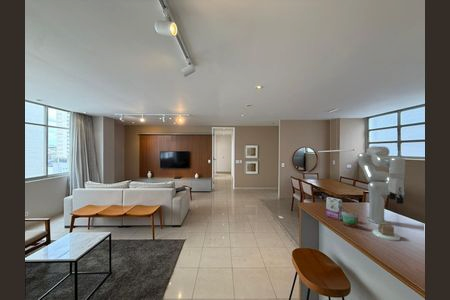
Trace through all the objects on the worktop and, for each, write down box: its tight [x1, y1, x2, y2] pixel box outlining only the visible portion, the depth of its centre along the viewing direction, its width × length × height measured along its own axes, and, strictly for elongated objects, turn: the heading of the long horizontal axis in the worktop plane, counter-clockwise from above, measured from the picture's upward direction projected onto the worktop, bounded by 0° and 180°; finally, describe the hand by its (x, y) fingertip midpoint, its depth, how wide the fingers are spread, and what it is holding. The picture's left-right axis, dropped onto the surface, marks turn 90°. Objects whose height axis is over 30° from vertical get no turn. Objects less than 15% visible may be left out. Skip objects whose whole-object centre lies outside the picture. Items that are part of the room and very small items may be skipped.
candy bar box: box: [325, 196, 343, 221], centre depth 159 cm, size 11×5×16 cm, turn 30°
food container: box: [341, 209, 360, 229], centre depth 143 cm, size 12×6×10 cm, turn 23°
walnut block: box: [377, 223, 395, 236], centre depth 127 cm, size 6×6×6 cm
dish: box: [372, 228, 401, 242], centre depth 127 cm, size 14×14×1 cm
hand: (395, 201), depth 128 cm, fingers open, 9 cm apart
